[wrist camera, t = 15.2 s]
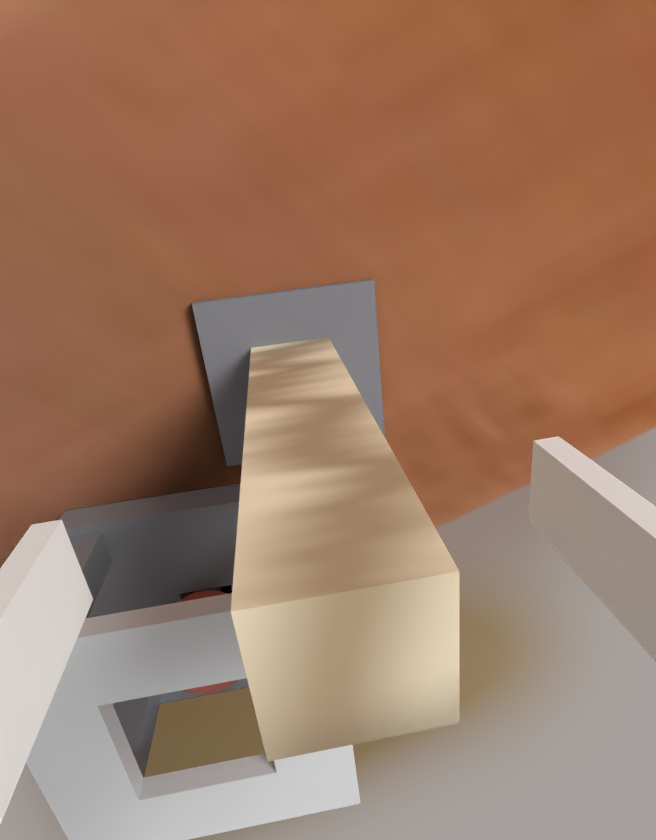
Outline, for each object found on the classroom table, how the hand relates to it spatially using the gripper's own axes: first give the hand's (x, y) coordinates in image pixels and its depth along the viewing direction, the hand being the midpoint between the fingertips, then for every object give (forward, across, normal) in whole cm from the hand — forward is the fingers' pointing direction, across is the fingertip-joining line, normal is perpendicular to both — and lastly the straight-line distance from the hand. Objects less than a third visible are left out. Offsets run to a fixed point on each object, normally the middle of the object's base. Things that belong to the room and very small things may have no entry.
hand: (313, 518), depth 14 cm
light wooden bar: (+13, 0, 0) cm, 13 cm away
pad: (+14, +1, 0) cm, 14 cm away
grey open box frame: (+14, -6, -13) cm, 20 cm away
